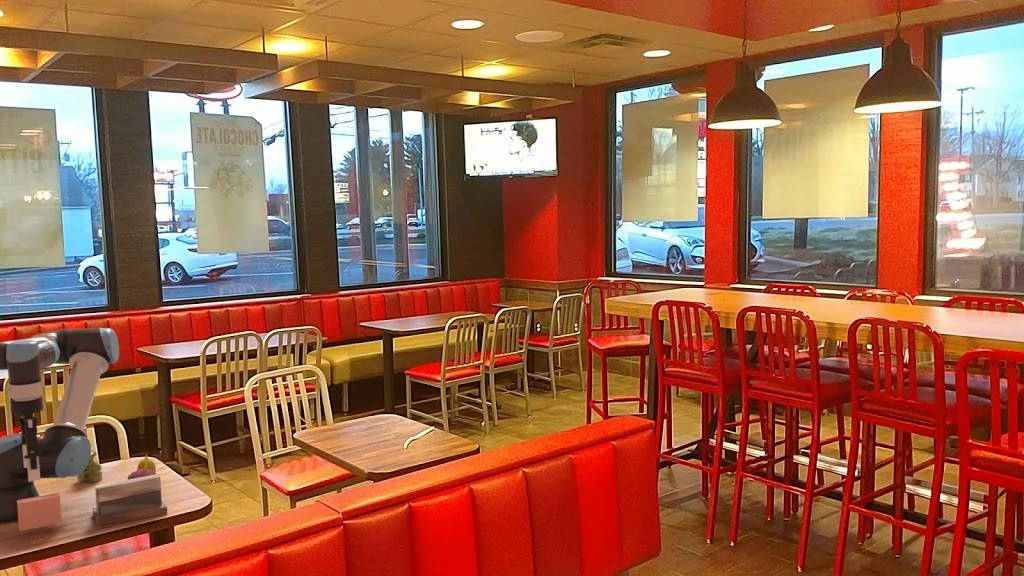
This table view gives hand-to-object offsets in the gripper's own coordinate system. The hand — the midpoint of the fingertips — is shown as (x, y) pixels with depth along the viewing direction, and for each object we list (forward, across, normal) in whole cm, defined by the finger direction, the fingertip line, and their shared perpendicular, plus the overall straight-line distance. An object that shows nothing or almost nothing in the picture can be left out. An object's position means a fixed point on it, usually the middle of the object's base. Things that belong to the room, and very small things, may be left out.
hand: (31, 473), depth 222 cm
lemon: (+18, -27, +34) cm, 47 cm away
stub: (+15, 0, +1) cm, 15 cm away
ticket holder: (+17, 0, +24) cm, 29 cm away
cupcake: (+18, -18, +31) cm, 40 cm away
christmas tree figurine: (+18, -40, +19) cm, 47 cm away
